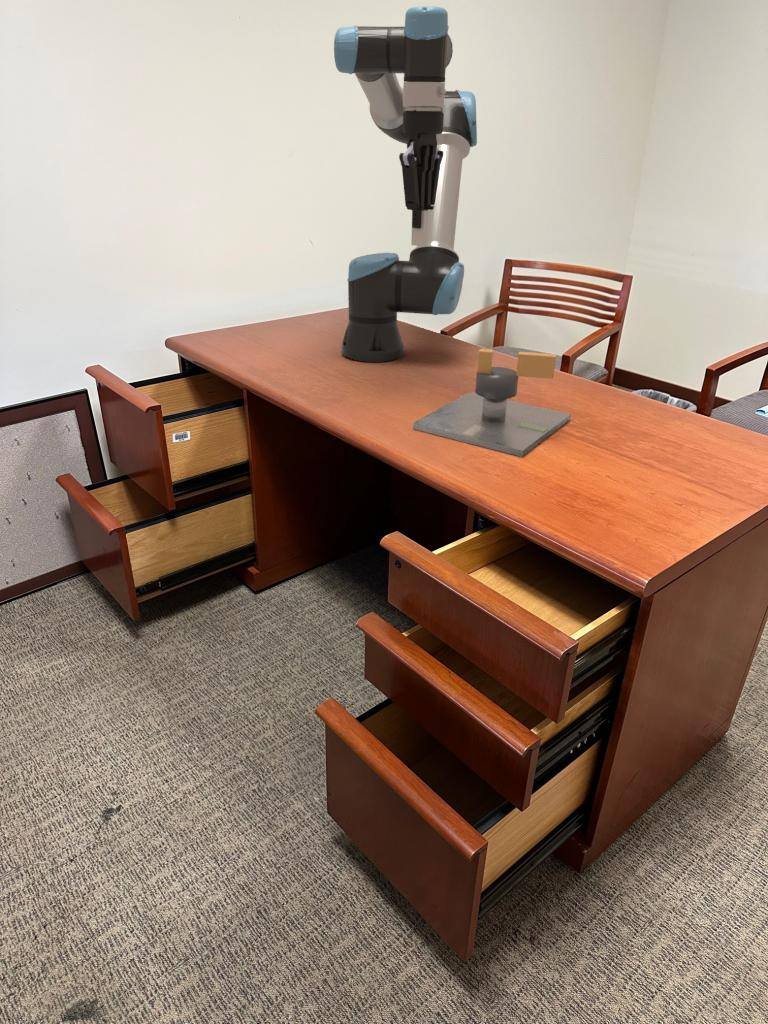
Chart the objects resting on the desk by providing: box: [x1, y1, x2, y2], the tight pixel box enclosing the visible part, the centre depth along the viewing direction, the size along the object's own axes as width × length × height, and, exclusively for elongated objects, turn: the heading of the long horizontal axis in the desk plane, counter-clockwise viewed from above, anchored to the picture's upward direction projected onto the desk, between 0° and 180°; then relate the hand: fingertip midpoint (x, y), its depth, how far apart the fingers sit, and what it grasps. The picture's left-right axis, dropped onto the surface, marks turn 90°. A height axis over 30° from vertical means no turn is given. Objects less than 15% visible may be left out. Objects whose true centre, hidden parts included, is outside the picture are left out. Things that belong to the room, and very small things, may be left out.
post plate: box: [412, 391, 572, 458], centre depth 138 cm, size 22×22×6 cm
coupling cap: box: [474, 348, 557, 400], centre depth 134 cm, size 14×8×8 cm, turn 78°
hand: (419, 245), depth 145 cm, fingers closed
